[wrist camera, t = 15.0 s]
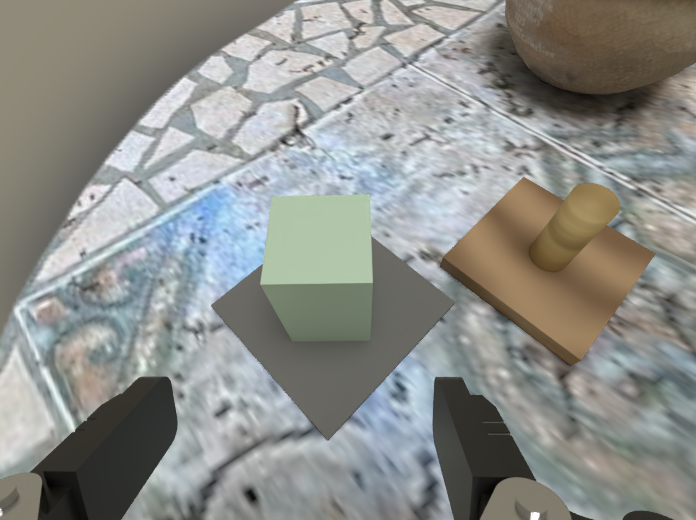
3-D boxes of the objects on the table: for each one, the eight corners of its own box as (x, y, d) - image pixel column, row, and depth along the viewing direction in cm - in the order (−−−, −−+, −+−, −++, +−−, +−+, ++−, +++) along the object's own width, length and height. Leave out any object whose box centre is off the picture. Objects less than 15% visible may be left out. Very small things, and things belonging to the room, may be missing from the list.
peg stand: (517, 187, 35) (558, 113, 28) (643, 262, 31) (731, 197, 23) (439, 266, 31) (462, 203, 24) (570, 365, 27) (648, 326, 20)
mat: (334, 209, 35) (334, 206, 35) (453, 304, 30) (454, 302, 29) (212, 307, 30) (210, 305, 30) (328, 440, 25) (327, 439, 25)
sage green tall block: (297, 272, 31) (272, 196, 23) (368, 271, 31) (369, 194, 22) (292, 341, 28) (260, 284, 20) (370, 340, 28) (372, 282, 19)
